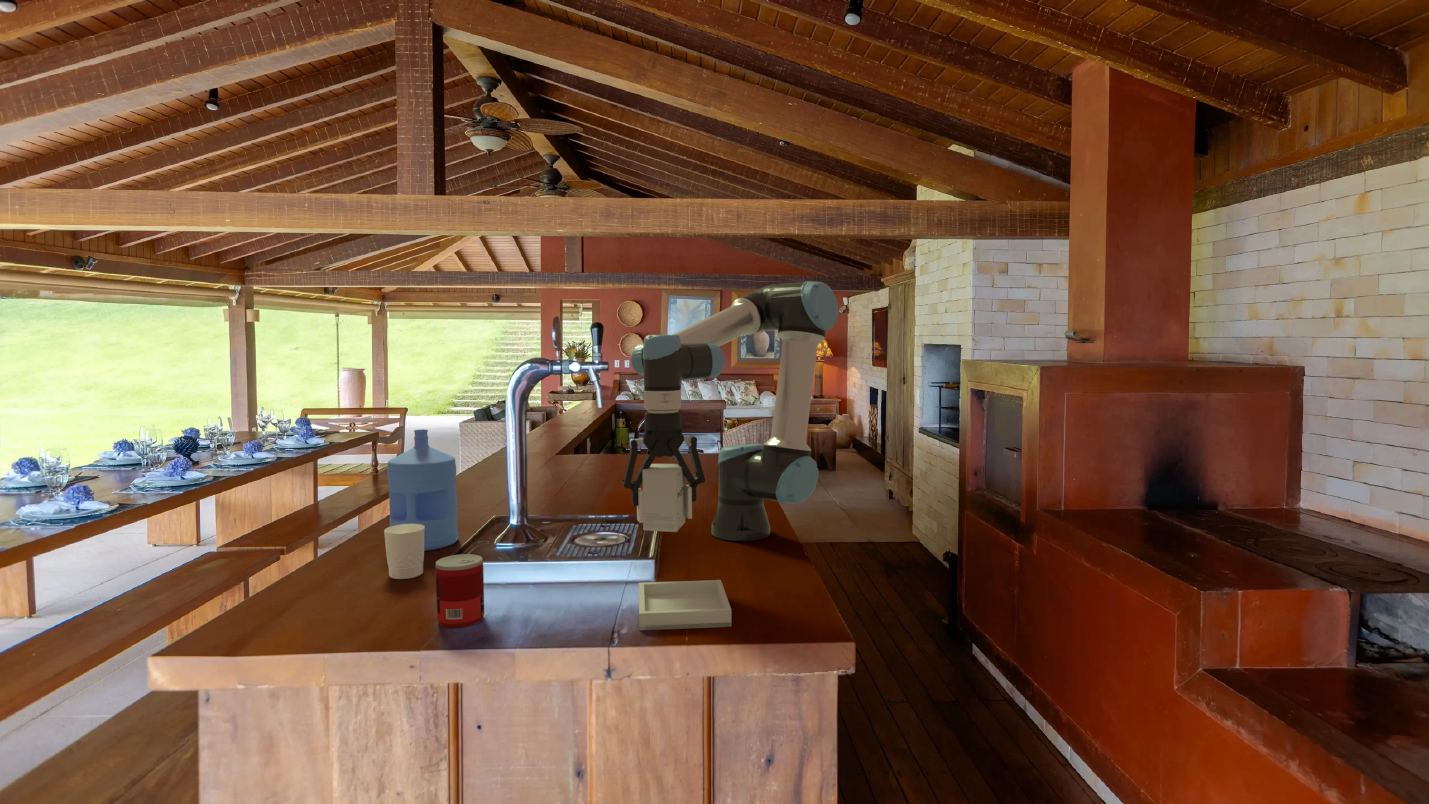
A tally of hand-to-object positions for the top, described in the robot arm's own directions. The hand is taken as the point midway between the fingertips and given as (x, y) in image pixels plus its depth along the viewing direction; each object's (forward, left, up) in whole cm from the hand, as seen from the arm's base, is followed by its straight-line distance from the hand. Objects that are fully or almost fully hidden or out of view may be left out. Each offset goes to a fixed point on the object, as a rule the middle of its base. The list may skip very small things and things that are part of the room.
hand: (664, 519), depth 150 cm
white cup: (+31, -46, -13) cm, 57 cm away
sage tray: (+10, +14, -13) cm, 22 cm away
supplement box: (0, 0, -2) cm, 2 cm away
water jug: (+16, -65, -13) cm, 68 cm away
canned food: (+38, -14, -13) cm, 43 cm away
